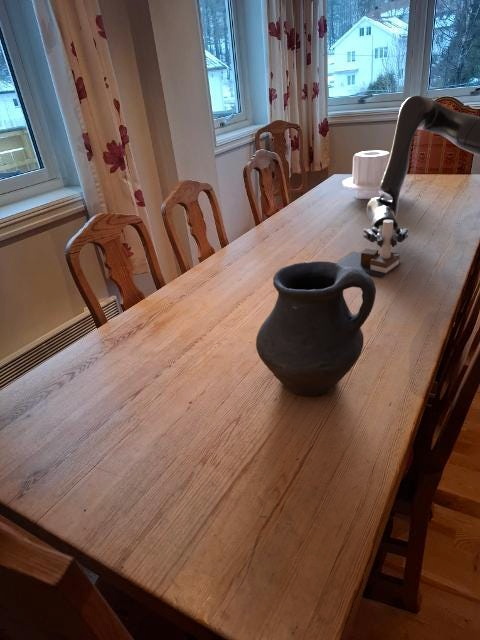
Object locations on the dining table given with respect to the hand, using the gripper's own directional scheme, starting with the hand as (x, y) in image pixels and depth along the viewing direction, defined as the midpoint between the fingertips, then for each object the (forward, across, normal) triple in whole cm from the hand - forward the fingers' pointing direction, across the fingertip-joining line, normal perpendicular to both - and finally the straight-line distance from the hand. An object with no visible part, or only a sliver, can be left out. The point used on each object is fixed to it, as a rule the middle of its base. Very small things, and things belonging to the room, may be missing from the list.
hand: (387, 243), depth 124 cm
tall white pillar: (-3, 0, +8) cm, 9 cm away
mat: (-6, -5, +9) cm, 12 cm away
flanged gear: (-86, -3, +10) cm, 87 cm away
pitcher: (+54, -16, +9) cm, 57 cm away
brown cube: (-5, -4, +8) cm, 11 cm away
